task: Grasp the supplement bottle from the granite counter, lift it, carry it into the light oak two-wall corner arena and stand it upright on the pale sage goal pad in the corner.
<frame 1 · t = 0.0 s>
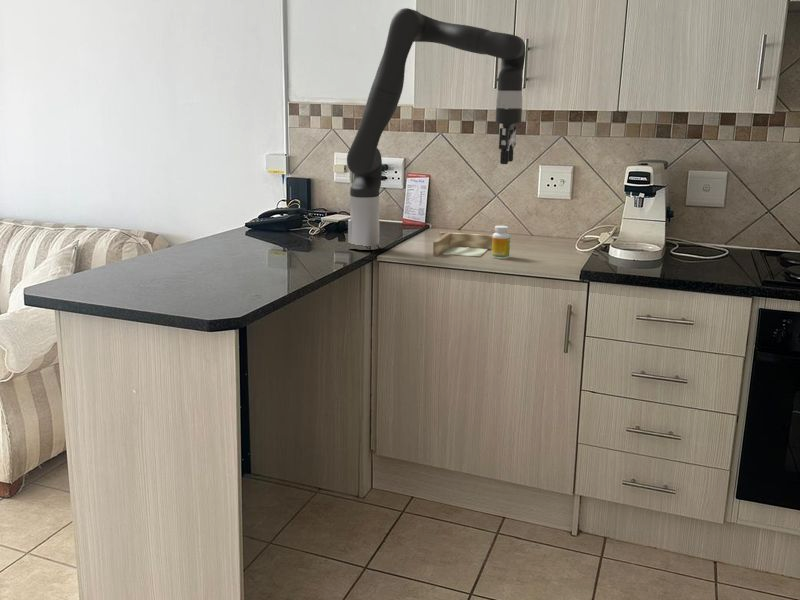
hand: (506, 162, 236), 29 cm above the countertop, tool pointing down, fingers open, 8 cm apart
corner arena: (465, 252, 253), on the countertop
supplement bottle: (500, 258, 246), on the countertop
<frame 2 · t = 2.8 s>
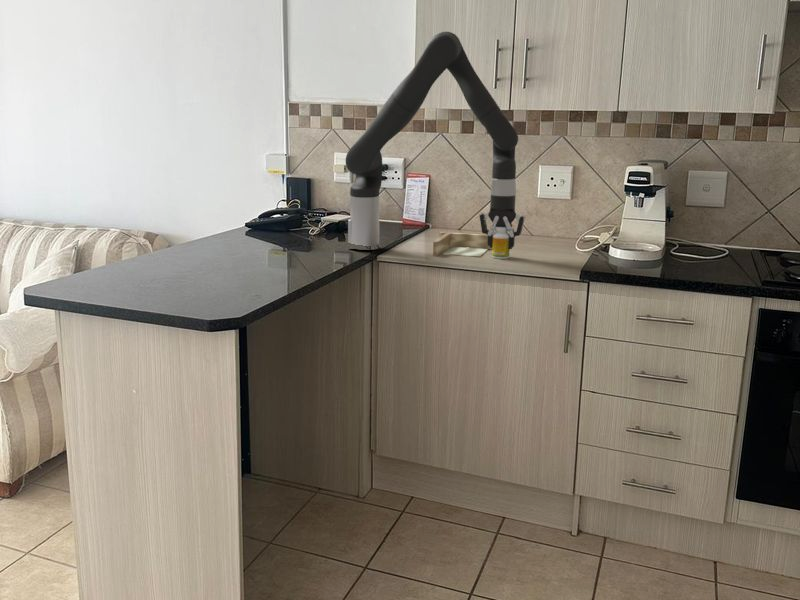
hand: (500, 247, 245), 3 cm above the countertop, tool pointing down, fingers closed on supplement bottle, 5 cm apart
supplement bottle: (500, 258, 246), on the countertop, touching gripper
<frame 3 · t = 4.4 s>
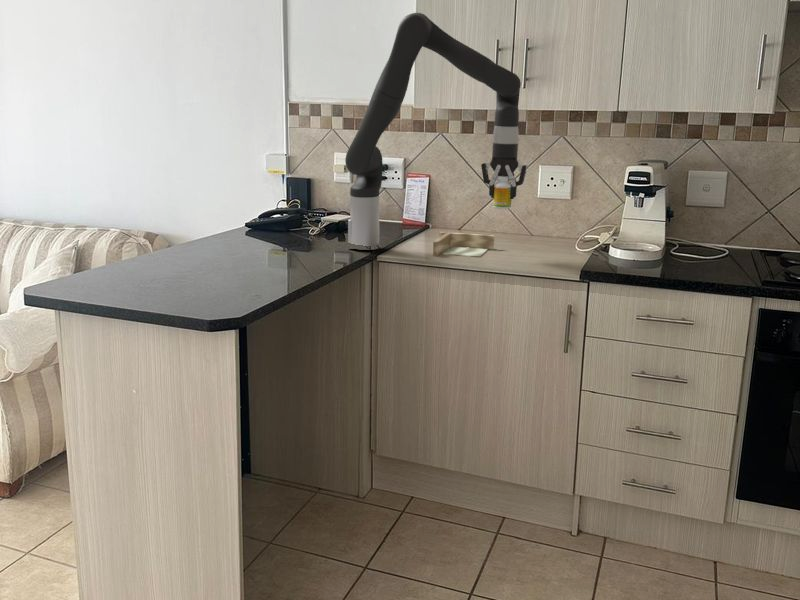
hand: (502, 198, 241), 18 cm above the countertop, tool pointing down, fingers closed on supplement bottle, 5 cm apart
supplement bottle: (501, 208, 242), point 15 cm above the countertop, touching gripper
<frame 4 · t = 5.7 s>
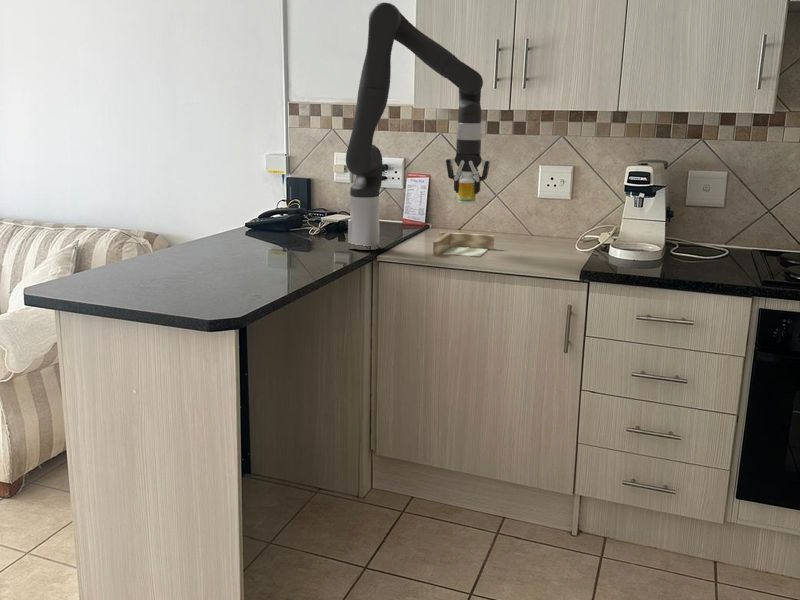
hand: (467, 192, 248), 19 cm above the countertop, tool pointing down, fingers closed on supplement bottle, 5 cm apart
supplement bottle: (466, 203, 249), point 16 cm above the countertop, touching gripper
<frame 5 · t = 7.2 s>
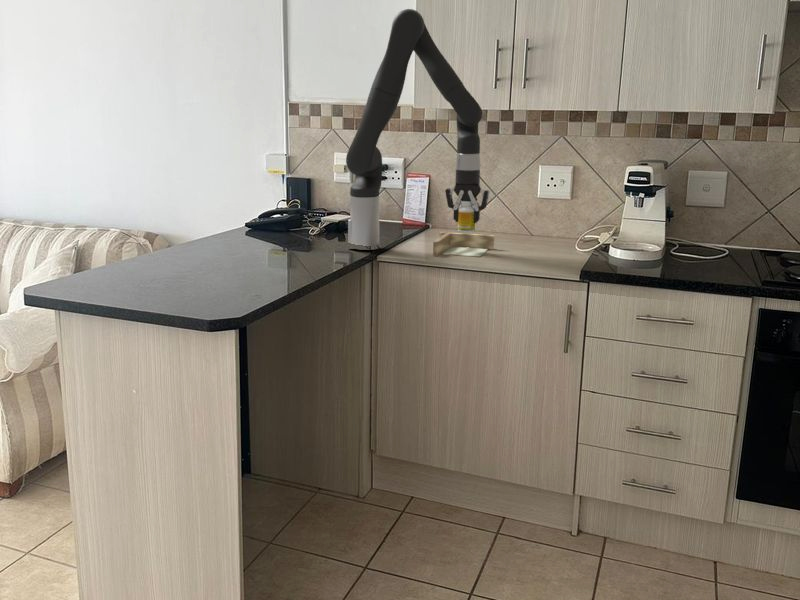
hand: (466, 221, 250), 10 cm above the countertop, tool pointing down, fingers closed on supplement bottle, 5 cm apart
supplement bottle: (466, 231, 251), point 7 cm above the countertop, touching gripper
when the fingers open (5 cm above the countertop, at t = 8.7 s): supplement bottle drops 2 cm, resting on corner arena.
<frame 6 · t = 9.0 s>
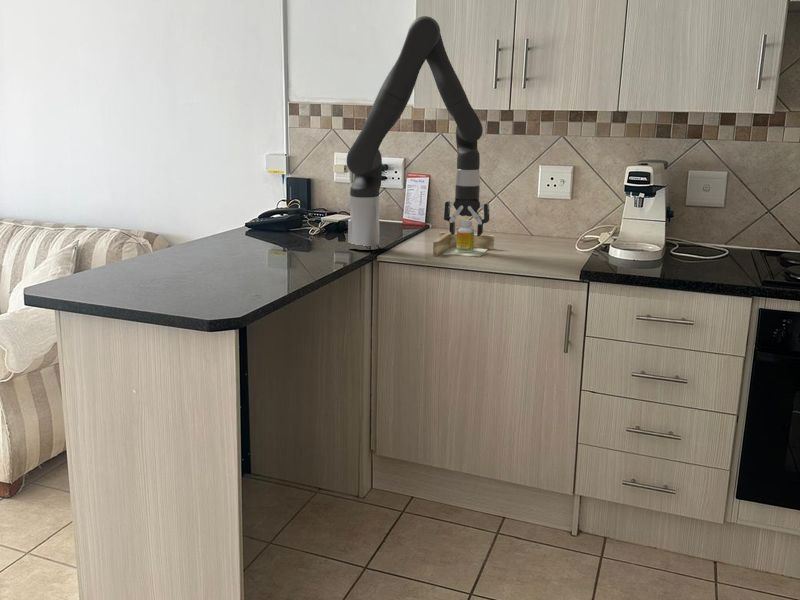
hand: (466, 235, 252), 6 cm above the countertop, tool pointing down, fingers open, 8 cm apart
supplement bottle: (464, 251, 253), resting on corner arena
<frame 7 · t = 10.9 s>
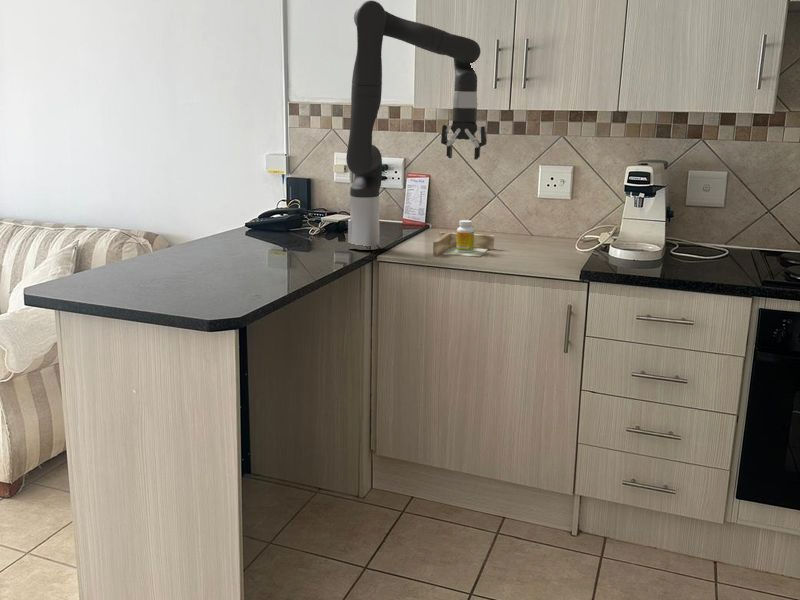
hand: (463, 158, 253), 29 cm above the countertop, tool pointing down, fingers open, 8 cm apart
nothing on the countertop moved.
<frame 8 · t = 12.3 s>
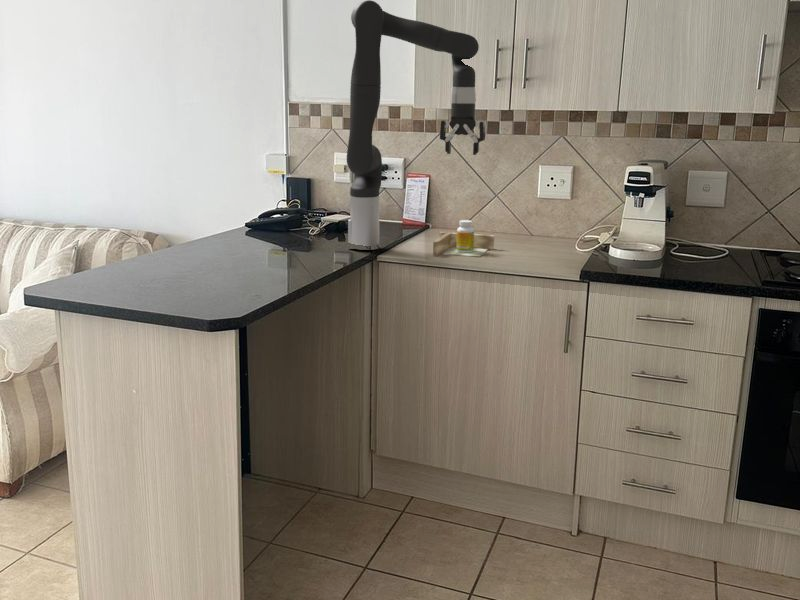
hand: (461, 154, 254), 30 cm above the countertop, tool pointing down, fingers open, 8 cm apart
nothing on the countertop moved.
at the end: supplement bottle inside the target area on the corner arena (0.2 cm from its centre), point 0.1 cm above the corner arena's base; supplement bottle tilted 0°; the gripper is holding nothing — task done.
